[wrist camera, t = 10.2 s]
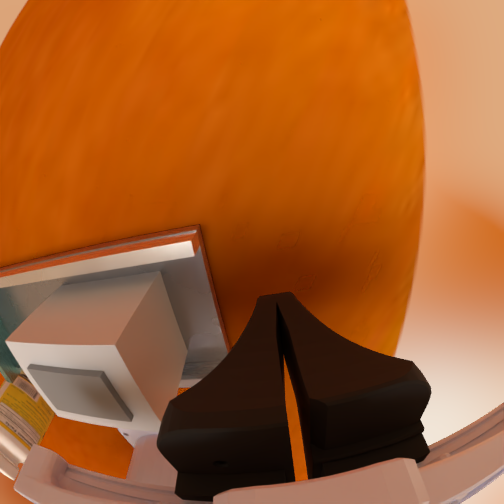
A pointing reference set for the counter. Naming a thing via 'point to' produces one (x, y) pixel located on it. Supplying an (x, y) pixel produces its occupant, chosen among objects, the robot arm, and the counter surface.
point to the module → (104, 351)
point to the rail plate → (119, 265)
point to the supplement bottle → (20, 422)
